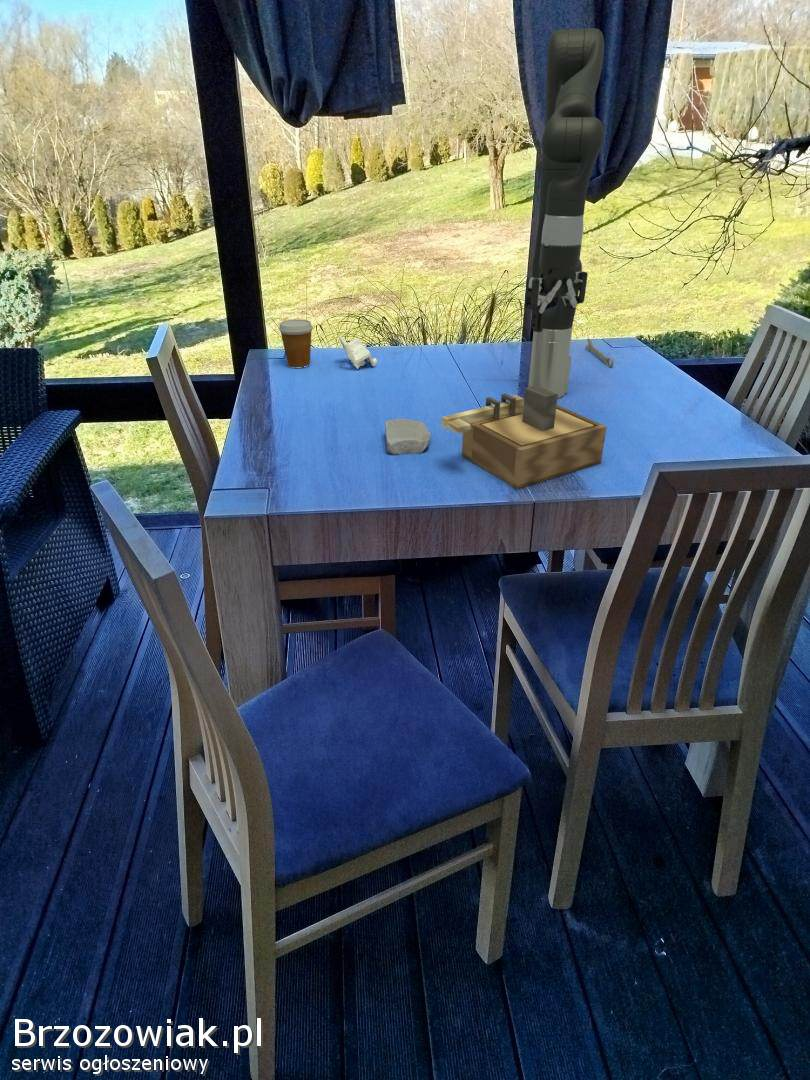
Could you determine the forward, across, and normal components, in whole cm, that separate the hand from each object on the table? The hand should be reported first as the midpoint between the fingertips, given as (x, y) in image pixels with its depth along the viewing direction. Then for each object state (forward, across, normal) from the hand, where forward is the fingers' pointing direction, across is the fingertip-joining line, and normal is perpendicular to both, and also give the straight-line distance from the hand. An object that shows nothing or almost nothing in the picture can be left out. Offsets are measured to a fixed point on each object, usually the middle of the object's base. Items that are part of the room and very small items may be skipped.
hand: (552, 328), depth 138 cm
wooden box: (+24, +9, +7) cm, 27 cm away
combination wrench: (+24, -55, -37) cm, 71 cm away
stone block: (+24, +26, -13) cm, 38 cm away
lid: (+17, +9, +8) cm, 21 cm away
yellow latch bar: (+16, +16, +2) cm, 23 cm away
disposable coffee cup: (+24, +23, -78) cm, 85 cm away
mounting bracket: (+24, +8, -70) cm, 74 cm away
